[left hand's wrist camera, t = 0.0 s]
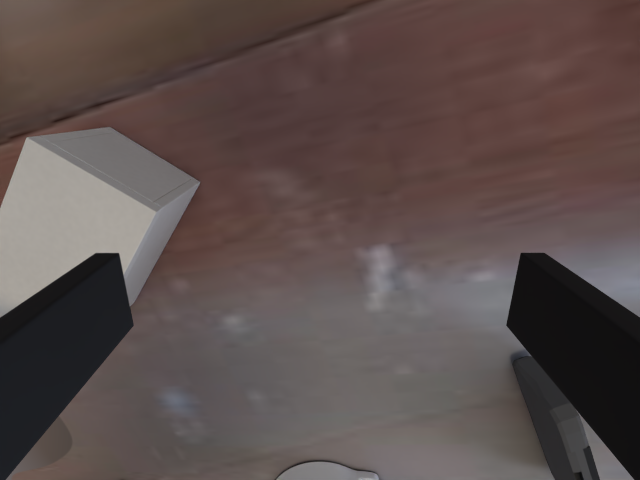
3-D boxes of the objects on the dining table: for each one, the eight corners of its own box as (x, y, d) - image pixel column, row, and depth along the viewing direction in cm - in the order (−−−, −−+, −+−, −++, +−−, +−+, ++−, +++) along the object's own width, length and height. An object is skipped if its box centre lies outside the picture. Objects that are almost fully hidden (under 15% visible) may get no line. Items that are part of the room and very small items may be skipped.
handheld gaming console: (571, 469, 54) (624, 547, 44) (551, 475, 54) (600, 553, 45) (529, 347, 46) (582, 410, 37) (508, 355, 47) (555, 419, 38)
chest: (134, 301, 44) (85, 355, 35) (51, 258, 43) (-26, 302, 33) (200, 182, 40) (163, 207, 30) (109, 126, 38) (39, 135, 28)
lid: (82, 359, 35) (4, 444, 26) (-27, 307, 33) (-151, 380, 24) (163, 207, 30) (99, 251, 21) (38, 135, 28) (-88, 151, 19)
